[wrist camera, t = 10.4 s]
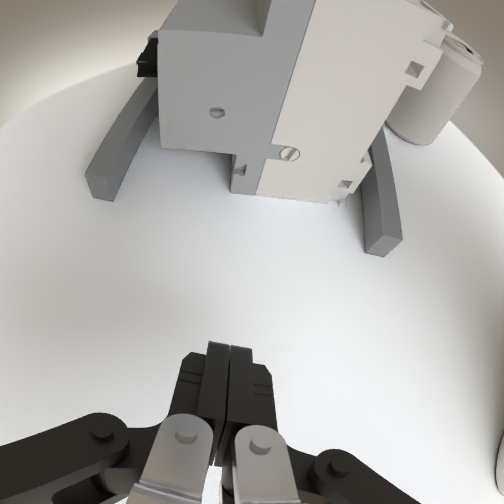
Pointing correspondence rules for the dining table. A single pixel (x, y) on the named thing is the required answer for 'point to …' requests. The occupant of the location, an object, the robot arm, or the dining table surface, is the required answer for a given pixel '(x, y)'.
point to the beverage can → (436, 93)
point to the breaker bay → (142, 114)
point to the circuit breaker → (289, 85)
